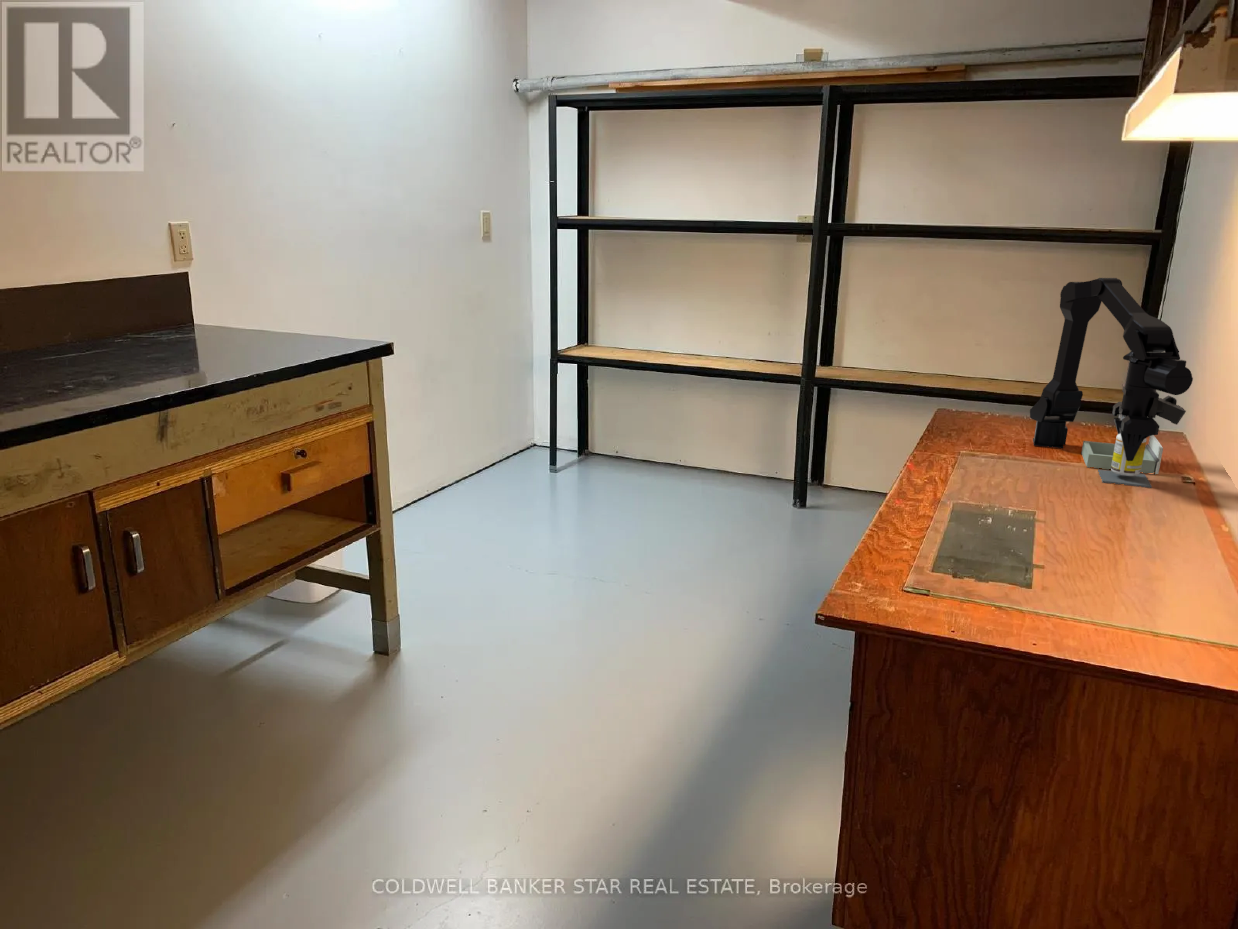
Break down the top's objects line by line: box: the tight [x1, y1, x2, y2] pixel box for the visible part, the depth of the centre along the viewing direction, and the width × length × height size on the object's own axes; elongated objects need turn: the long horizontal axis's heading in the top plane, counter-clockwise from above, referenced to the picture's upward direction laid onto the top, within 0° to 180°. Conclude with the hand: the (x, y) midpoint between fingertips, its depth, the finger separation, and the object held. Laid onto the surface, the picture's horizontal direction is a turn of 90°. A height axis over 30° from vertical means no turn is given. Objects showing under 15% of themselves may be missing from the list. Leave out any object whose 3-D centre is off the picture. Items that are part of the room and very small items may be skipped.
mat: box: [1097, 469, 1153, 489], centre depth 183 cm, size 9×9×1 cm
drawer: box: [1081, 435, 1164, 475], centre depth 194 cm, size 14×13×6 cm
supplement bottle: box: [1110, 433, 1147, 476], centre depth 182 cm, size 6×6×10 cm
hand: (1127, 457), depth 182 cm, fingers closed on supplement bottle, 5 cm apart
